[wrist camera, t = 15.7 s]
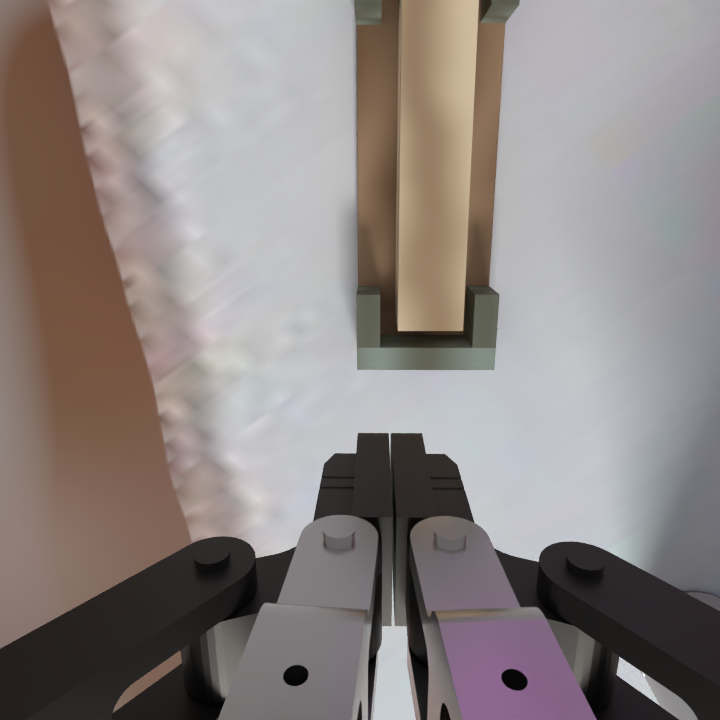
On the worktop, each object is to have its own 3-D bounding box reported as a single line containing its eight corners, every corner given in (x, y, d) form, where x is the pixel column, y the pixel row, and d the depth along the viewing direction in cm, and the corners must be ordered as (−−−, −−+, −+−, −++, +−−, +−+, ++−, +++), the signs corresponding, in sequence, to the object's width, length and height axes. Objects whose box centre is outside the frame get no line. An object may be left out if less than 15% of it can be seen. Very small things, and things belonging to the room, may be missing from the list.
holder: (509, -71, 32) (526, -106, 29) (482, 352, 40) (494, 369, 36) (356, -68, 33) (353, -103, 29) (359, 352, 40) (357, 369, 36)
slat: (466, -16, 33) (481, -52, 28) (452, 313, 39) (463, 330, 34) (398, -15, 33) (402, -50, 28) (395, 314, 39) (397, 331, 34)
